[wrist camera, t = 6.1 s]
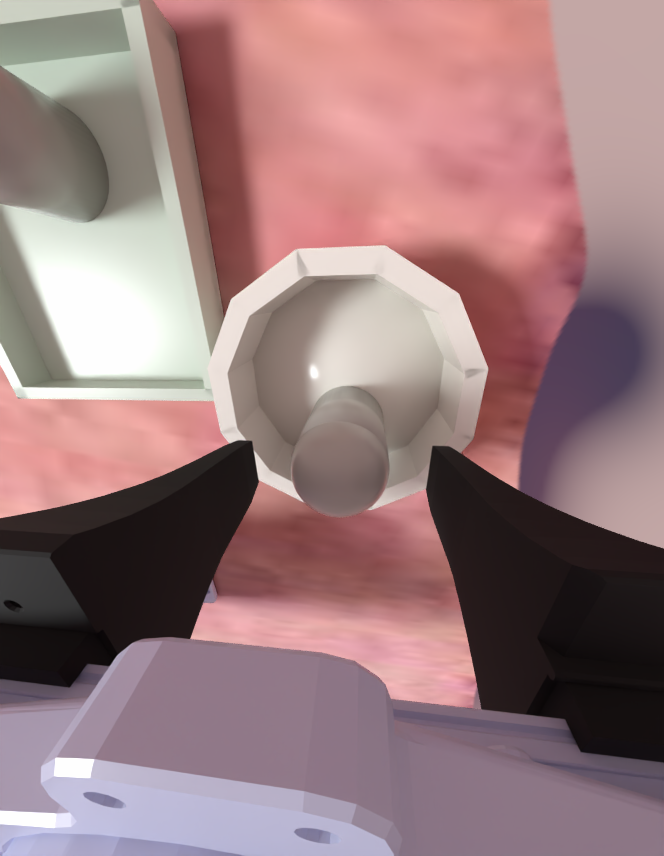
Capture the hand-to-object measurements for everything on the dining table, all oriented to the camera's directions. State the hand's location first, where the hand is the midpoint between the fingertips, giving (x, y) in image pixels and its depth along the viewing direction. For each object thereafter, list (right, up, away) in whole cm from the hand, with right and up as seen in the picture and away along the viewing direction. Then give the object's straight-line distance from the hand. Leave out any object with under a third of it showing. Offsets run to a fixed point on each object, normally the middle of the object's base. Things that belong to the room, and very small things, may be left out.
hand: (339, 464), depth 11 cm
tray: (-11, +10, +2) cm, 15 cm away
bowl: (0, +4, +3) cm, 5 cm away
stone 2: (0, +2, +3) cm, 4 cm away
